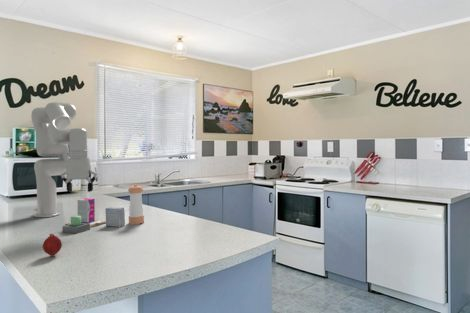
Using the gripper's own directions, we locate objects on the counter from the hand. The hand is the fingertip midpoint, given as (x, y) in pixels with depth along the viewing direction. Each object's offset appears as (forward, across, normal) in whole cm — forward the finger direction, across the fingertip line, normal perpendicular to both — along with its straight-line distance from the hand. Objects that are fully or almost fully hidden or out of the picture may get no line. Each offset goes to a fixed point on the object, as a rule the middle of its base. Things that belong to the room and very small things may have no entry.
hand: (79, 191), depth 159 cm
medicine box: (+18, +14, +5) cm, 23 cm away
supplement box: (+16, -2, +9) cm, 19 cm away
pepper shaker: (+18, +23, +10) cm, 31 cm away
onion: (+18, +10, -40) cm, 45 cm away
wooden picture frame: (+17, -2, +9) cm, 19 cm away
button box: (+17, 0, -4) cm, 18 cm away
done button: (+16, 0, -4) cm, 16 cm away
